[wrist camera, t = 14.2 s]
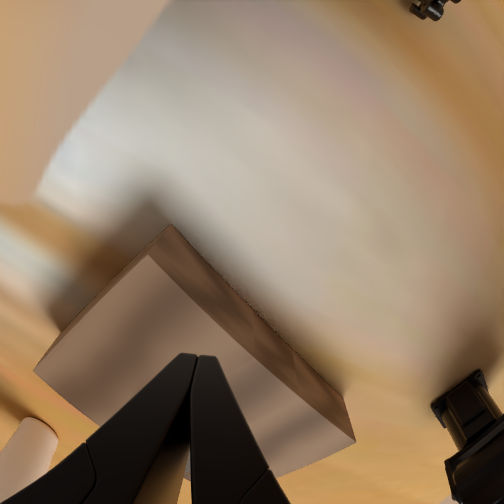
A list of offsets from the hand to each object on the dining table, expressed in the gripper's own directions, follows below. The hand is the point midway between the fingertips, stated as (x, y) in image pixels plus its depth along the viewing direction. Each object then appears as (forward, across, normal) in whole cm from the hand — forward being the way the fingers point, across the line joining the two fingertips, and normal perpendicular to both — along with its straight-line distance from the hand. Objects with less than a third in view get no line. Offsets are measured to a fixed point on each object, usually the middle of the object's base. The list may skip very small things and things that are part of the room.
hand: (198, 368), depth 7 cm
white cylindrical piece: (+13, +22, +28) cm, 38 cm away
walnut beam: (+13, +1, +13) cm, 18 cm away
